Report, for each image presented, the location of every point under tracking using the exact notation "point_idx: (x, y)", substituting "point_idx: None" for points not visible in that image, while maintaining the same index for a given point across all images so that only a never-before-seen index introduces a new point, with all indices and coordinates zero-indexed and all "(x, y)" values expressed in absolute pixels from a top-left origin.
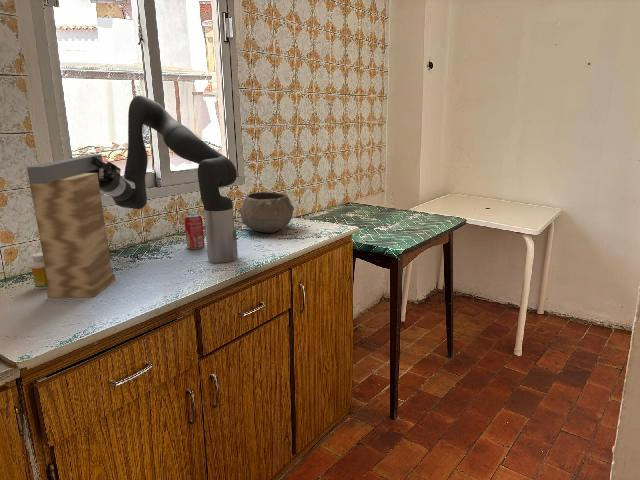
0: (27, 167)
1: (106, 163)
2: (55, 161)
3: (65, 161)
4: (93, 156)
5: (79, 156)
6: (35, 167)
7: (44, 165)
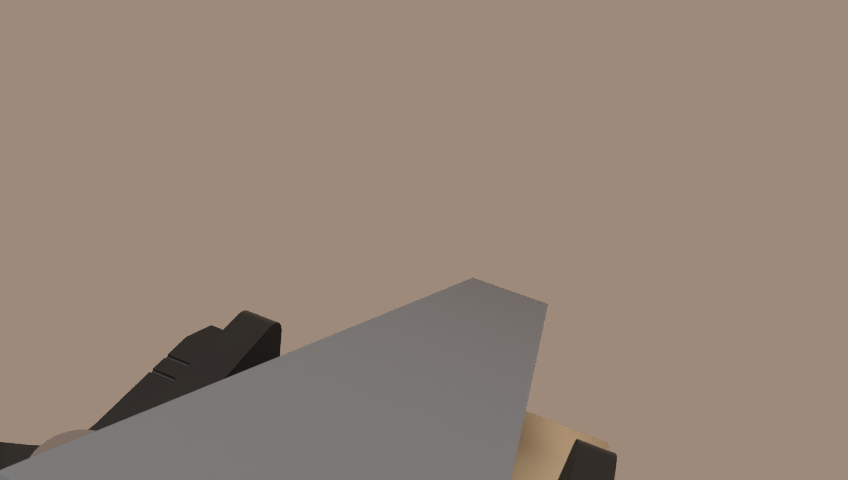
0: (543, 303)
1: (8, 444)
2: (534, 334)
3: (452, 302)
4: (261, 371)
5: (501, 440)
6: (506, 290)
7: (495, 292)
